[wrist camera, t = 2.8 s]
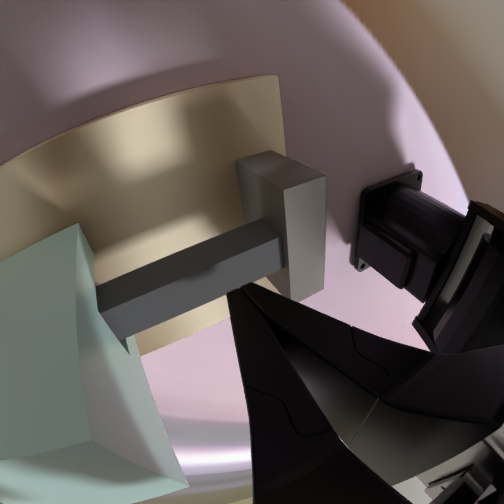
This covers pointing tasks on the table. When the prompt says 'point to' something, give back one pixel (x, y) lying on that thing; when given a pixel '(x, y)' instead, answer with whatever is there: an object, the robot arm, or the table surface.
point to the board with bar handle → (172, 190)
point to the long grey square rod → (189, 278)
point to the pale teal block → (73, 389)
